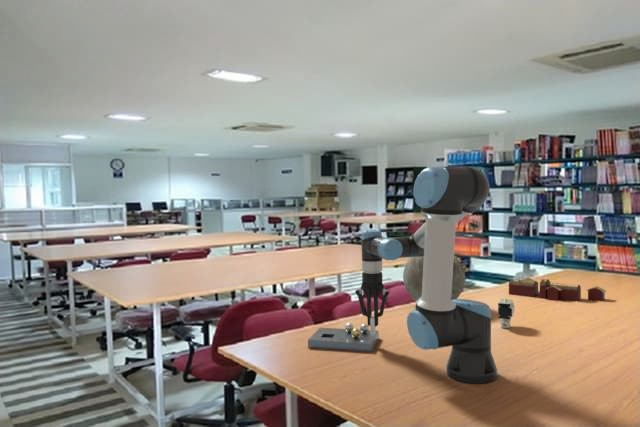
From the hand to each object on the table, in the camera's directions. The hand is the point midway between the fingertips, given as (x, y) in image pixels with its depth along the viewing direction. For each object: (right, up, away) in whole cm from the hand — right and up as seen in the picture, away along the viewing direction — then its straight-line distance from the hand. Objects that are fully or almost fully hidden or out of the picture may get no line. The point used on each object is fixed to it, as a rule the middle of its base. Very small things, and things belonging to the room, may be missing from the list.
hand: (373, 334), depth 180 cm
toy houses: (+107, 0, +78) cm, 132 cm away
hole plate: (-11, -5, +5) cm, 13 cm away
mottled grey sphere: (+37, -2, +61) cm, 71 cm away
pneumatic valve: (+58, -3, +22) cm, 62 cm away
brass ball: (-6, 0, +2) cm, 7 cm away
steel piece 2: (-3, 0, +8) cm, 8 cm away
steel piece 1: (-8, 0, +9) cm, 13 cm away
